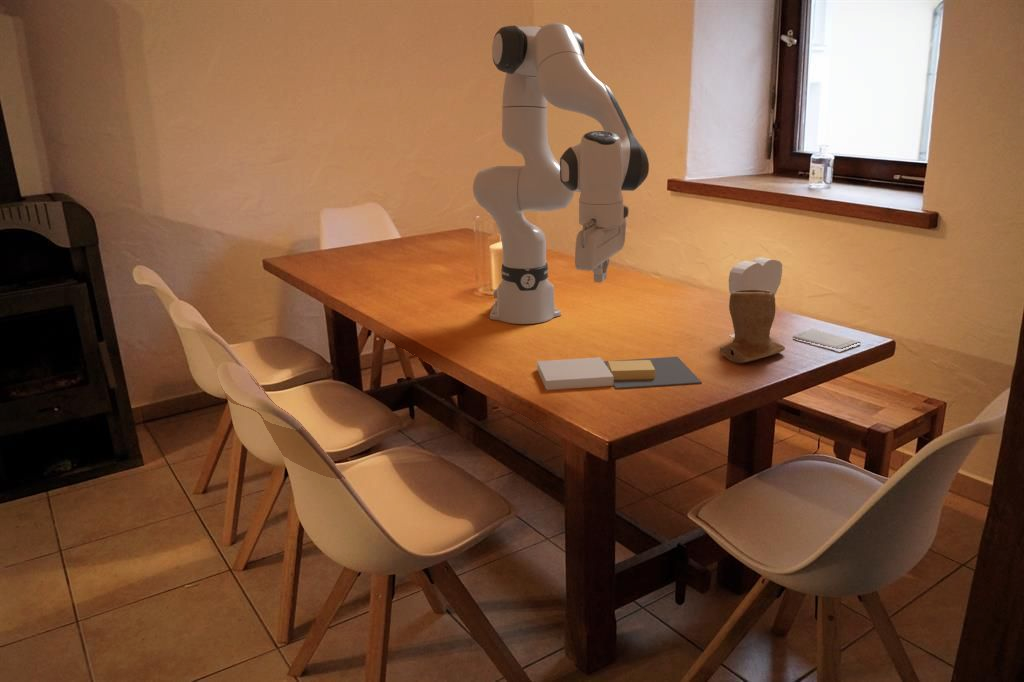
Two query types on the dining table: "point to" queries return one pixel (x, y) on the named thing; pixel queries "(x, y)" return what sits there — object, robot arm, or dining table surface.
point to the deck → (574, 373)
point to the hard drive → (825, 339)
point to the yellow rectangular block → (632, 369)
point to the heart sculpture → (756, 275)
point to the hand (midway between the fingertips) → (600, 280)
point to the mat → (661, 374)
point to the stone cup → (751, 326)
